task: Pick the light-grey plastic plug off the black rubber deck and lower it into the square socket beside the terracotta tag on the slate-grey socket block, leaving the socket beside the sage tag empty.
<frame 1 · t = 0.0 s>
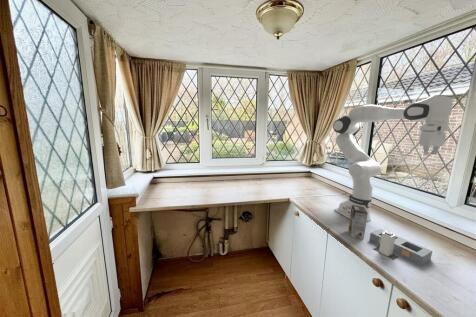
hand: (429, 154, 103), 48 cm above the table, fingers open, 8 cm apart
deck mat: (385, 254, 97), on the table
plug: (385, 252, 97), point 1 cm above the table, touching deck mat
coffee box: (355, 235, 113), on the table
socket block: (397, 250, 100), on the table
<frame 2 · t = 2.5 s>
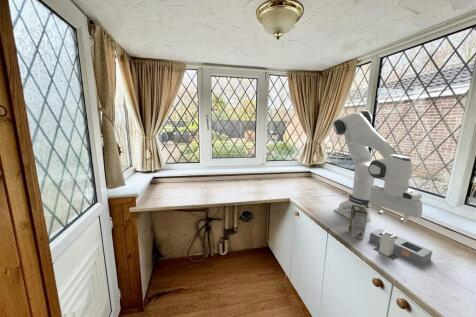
hand: (391, 218, 94), 19 cm above the table, fingers open, 8 cm apart
nothing on the table moved.
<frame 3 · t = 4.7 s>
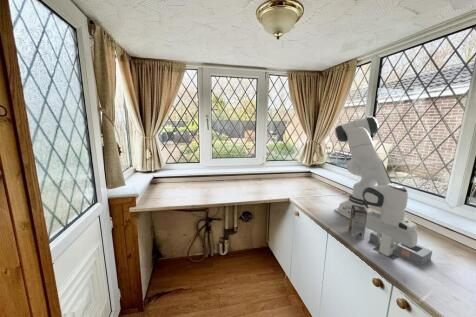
hand: (386, 245, 96), 5 cm above the table, fingers closed on plug, 4 cm apart
plug: (385, 252, 97), point 1 cm above the table, touching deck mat, gripper
everything else where it was.
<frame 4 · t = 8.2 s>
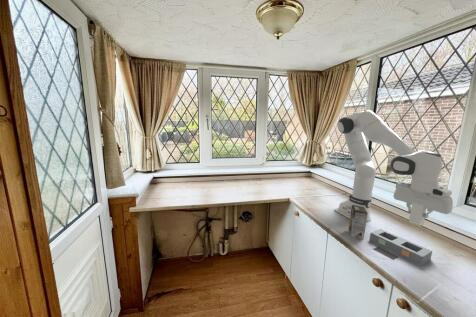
hand: (417, 215, 92), 21 cm above the table, fingers closed on plug, 4 cm apart
plug: (415, 223, 93), point 17 cm above the table, touching gripper
everything else where it was.
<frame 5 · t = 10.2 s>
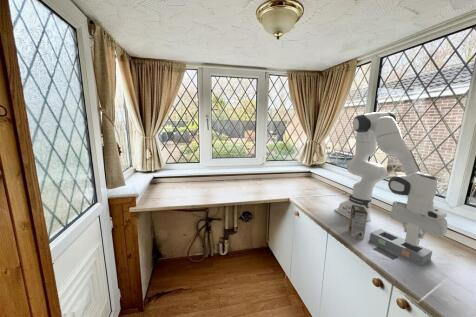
hand: (413, 235, 94), 11 cm above the table, fingers closed on plug, 4 cm apart
plug: (411, 243, 95), point 7 cm above the table, touching gripper
everything else where it was.
when the fingers open (7 cm above the table, at t = 12.0 s): plug stays where it is, resting on socket block.
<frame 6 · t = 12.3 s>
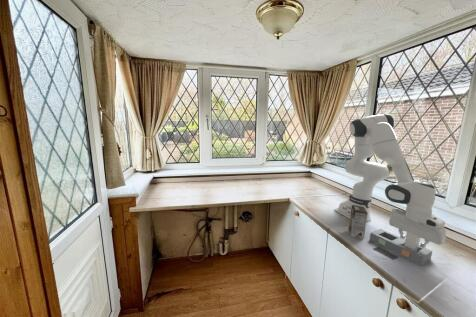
hand: (412, 242, 95), 7 cm above the table, fingers open, 6 cm apart
plug: (410, 251, 96), point 2 cm above the table, touching socket block
everything else where it was.
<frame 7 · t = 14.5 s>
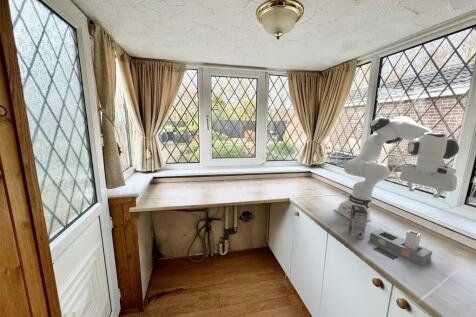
hand: (422, 194, 97), 29 cm above the table, fingers open, 8 cm apart
nothing on the table moved.
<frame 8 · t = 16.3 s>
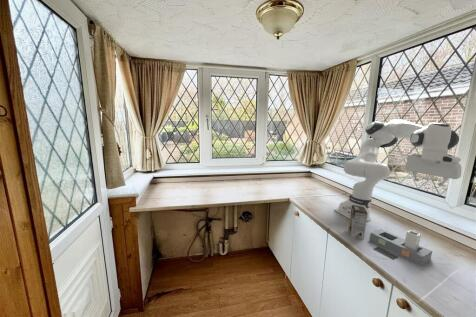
hand: (428, 183, 99), 34 cm above the table, fingers open, 8 cm apart
nothing on the table moved.
at the end: plug 0.1 cm from the target spot on the socket block, point 2.1 cm above the socket block's base; plug tilted 0°; the gripper is holding nothing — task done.
